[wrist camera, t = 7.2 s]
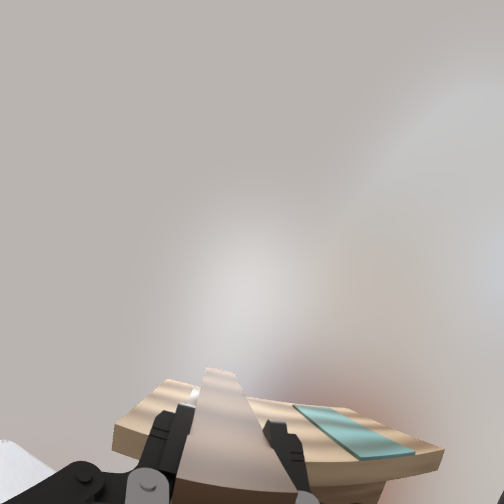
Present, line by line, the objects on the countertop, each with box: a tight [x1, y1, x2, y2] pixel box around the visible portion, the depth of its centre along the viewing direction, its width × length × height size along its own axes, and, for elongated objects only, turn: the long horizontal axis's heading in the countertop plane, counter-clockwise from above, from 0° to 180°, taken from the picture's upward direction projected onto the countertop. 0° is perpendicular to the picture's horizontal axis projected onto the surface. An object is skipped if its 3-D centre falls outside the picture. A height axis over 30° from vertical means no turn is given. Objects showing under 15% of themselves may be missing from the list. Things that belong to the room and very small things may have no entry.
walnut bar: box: [171, 367, 298, 504], centre depth 17 cm, size 26×3×3 cm, turn 7°
